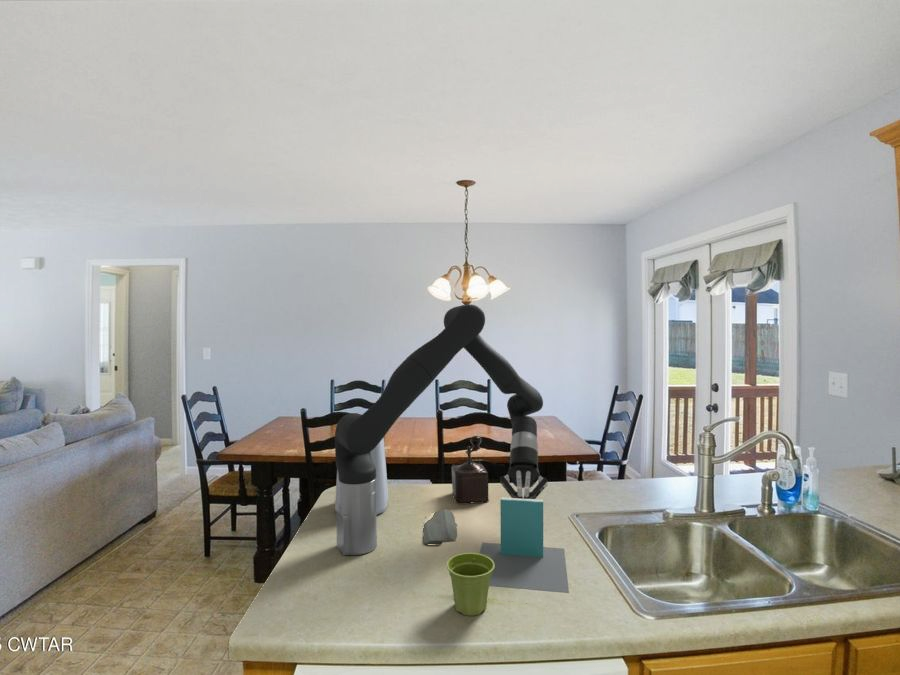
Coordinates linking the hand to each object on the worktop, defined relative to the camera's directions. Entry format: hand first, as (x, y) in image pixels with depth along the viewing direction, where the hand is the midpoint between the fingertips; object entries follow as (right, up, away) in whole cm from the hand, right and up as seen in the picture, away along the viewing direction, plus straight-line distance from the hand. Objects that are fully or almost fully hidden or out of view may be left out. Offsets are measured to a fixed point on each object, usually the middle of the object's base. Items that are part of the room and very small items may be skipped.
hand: (523, 513), depth 123 cm
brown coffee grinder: (-12, -7, +37) cm, 40 cm away
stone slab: (-21, -9, +12) cm, 26 cm away
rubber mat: (-2, -8, -12) cm, 14 cm away
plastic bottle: (-45, -8, +26) cm, 53 cm away
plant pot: (-14, -9, -27) cm, 32 cm away
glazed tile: (-1, -7, -6) cm, 10 cm away
